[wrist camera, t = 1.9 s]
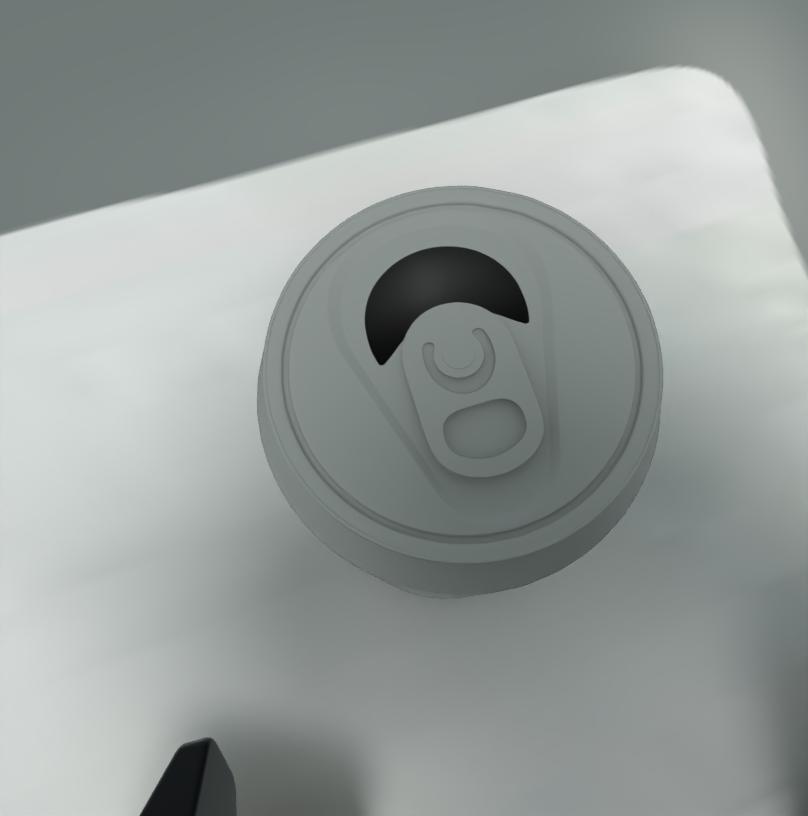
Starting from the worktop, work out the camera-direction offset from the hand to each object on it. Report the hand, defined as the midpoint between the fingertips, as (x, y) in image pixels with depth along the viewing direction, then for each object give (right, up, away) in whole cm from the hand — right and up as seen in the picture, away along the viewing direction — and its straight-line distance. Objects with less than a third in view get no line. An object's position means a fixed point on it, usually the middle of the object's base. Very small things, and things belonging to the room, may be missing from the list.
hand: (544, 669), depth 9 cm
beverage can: (-1, +1, +12) cm, 12 cm away
